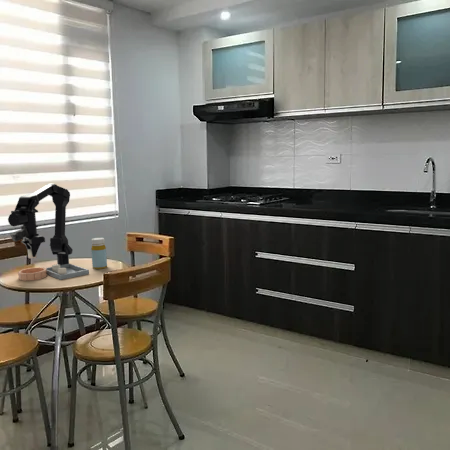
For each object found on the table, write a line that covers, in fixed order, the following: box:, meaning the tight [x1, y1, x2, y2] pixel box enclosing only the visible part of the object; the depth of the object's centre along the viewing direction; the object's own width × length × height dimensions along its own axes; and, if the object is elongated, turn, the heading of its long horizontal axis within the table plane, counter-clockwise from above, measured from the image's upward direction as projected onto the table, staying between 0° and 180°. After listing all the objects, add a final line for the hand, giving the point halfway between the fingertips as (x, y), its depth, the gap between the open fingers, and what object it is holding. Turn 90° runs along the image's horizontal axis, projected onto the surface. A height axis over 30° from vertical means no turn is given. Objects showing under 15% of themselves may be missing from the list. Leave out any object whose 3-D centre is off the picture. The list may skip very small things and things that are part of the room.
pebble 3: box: [58, 268, 67, 275], centre depth 220 cm, size 4×4×4 cm
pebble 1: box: [27, 249, 38, 259], centre depth 222 cm, size 4×4×4 cm
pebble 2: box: [51, 263, 60, 274], centre depth 227 cm, size 4×4×4 cm
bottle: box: [90, 237, 108, 270], centre depth 236 cm, size 7×7×15 cm
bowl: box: [17, 266, 48, 281], centre depth 221 cm, size 12×12×4 cm
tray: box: [45, 263, 90, 280], centre depth 227 cm, size 20×14×2 cm
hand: (32, 256), depth 222 cm, fingers closed on pebble 1, 4 cm apart
